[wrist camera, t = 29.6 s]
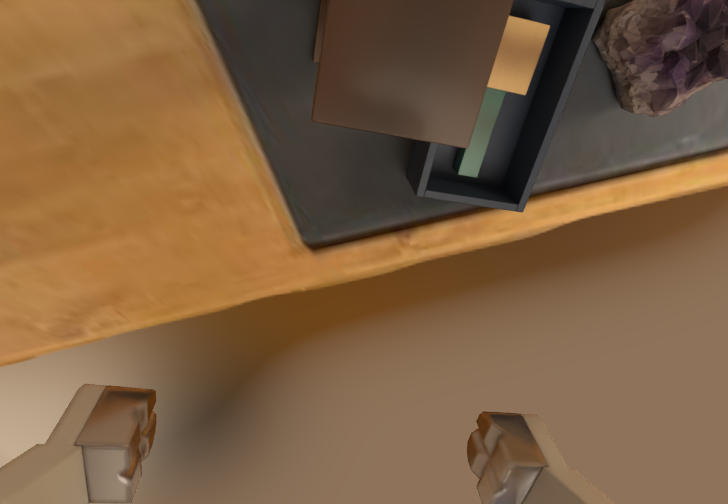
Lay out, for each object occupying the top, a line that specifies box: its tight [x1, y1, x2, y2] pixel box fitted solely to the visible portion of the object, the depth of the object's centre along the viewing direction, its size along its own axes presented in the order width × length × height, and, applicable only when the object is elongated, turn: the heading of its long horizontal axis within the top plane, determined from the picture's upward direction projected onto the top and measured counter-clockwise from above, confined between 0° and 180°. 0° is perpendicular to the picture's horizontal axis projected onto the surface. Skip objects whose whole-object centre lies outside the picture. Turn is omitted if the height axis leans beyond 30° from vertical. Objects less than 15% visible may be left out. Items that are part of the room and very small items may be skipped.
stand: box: [311, 0, 514, 149], centre depth 31 cm, size 8×10×25 cm
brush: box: [452, 15, 550, 178], centre depth 44 cm, size 15×5×4 cm, turn 168°
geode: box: [592, 0, 728, 117], centre depth 41 cm, size 20×12×10 cm, turn 111°
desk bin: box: [406, 0, 606, 212], centre depth 44 cm, size 12×20×6 cm, turn 169°
